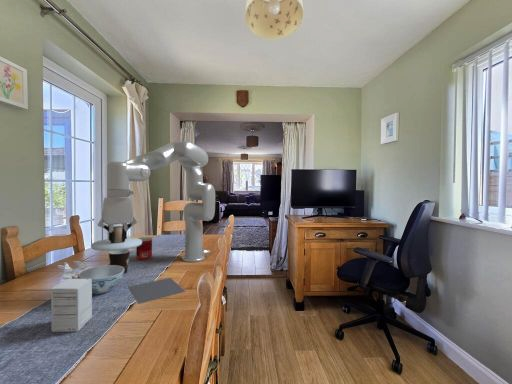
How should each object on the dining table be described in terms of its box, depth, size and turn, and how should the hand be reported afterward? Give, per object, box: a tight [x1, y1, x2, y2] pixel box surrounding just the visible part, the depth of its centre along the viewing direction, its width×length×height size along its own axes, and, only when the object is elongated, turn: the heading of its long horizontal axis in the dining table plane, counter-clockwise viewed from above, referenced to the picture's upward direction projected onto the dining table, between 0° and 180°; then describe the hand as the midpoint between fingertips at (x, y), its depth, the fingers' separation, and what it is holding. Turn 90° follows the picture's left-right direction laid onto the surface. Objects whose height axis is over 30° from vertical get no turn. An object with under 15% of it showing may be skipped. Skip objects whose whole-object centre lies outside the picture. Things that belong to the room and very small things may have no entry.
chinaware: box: [78, 265, 125, 295], centre depth 97 cm, size 15×15×8 cm
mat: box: [128, 277, 187, 304], centre depth 99 cm, size 17×17×1 cm
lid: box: [90, 225, 142, 252], centre depth 96 cm, size 17×17×7 cm
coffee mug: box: [108, 249, 131, 275], centre depth 118 cm, size 12×9×10 cm
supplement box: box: [50, 278, 93, 333], centre depth 74 cm, size 7×7×13 cm
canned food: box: [135, 236, 153, 261], centre depth 139 cm, size 8×8×11 cm
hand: (117, 241), depth 97 cm, fingers closed on lid, 3 cm apart
